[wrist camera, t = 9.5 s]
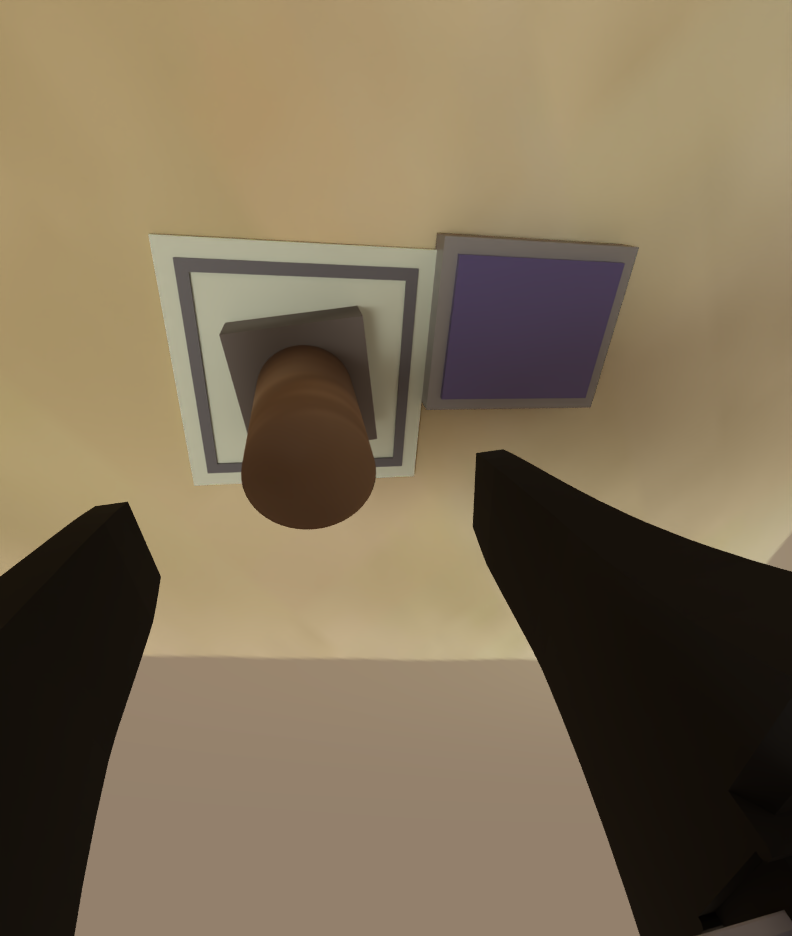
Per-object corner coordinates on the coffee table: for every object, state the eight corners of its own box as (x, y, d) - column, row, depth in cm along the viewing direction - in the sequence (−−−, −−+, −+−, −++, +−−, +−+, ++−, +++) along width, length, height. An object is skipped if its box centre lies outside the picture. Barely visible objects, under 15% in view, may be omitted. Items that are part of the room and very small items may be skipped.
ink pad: (621, 244, 17) (642, 247, 16) (578, 397, 20) (593, 409, 19) (437, 232, 16) (446, 236, 15) (420, 399, 19) (427, 411, 18)
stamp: (357, 305, 16) (394, 374, 10) (371, 421, 19) (408, 531, 13) (225, 322, 16) (184, 405, 10) (257, 439, 18) (239, 562, 12)
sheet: (435, 249, 16) (437, 250, 16) (412, 473, 20) (414, 477, 20) (149, 233, 14) (147, 234, 14) (195, 482, 19) (194, 487, 18)
